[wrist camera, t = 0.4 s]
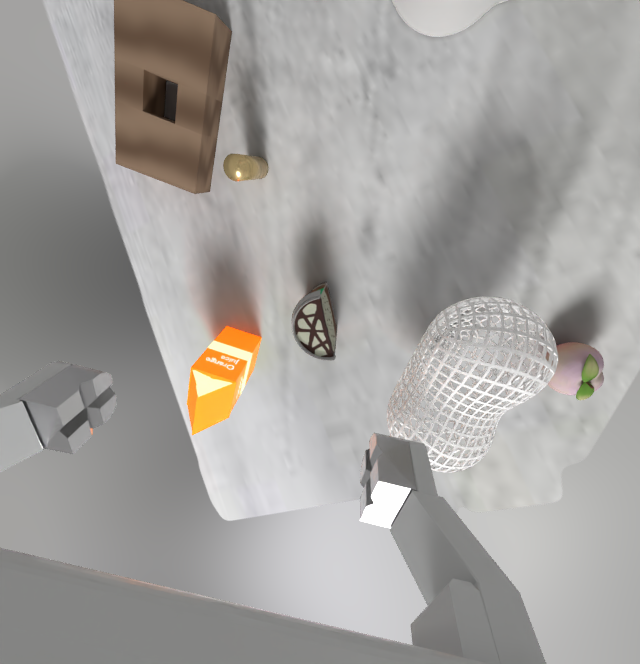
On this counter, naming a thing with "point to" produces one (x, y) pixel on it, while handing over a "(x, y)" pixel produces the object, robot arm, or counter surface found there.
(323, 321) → the food container
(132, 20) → the hole block
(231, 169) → the peg
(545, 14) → the counter surface
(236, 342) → the orange juice
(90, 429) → the robot arm
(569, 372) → the decorative fruit
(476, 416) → the heart
